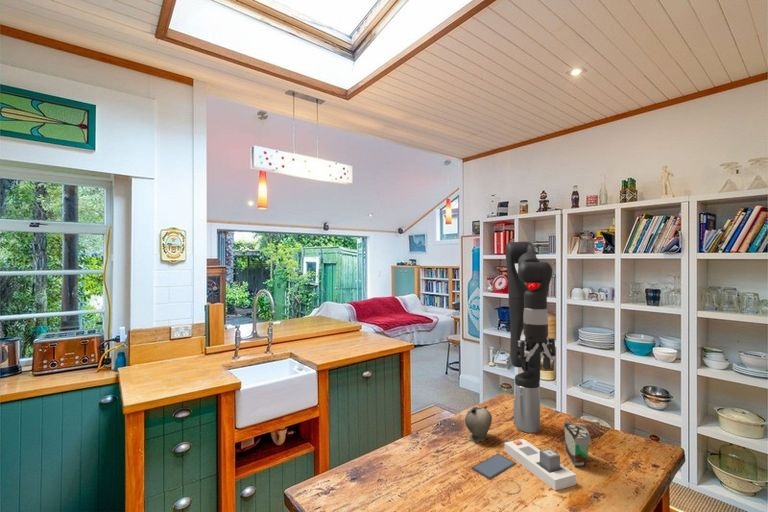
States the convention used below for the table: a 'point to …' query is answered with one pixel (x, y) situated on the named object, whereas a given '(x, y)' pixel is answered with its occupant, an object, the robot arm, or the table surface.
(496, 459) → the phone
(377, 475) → the table surface
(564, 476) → the power strip
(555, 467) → the block
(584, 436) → the food container
